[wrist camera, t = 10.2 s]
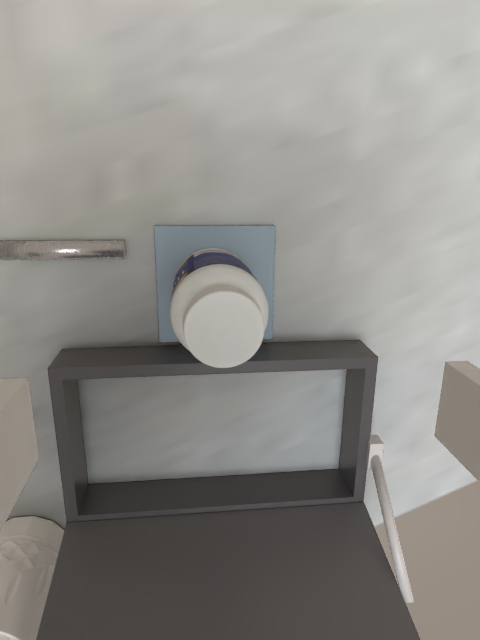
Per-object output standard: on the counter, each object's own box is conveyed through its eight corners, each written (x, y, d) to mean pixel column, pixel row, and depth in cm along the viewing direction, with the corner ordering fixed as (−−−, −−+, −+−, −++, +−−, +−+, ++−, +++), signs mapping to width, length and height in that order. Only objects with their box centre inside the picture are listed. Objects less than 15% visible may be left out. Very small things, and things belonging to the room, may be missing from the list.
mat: (160, 339, 33) (159, 342, 32) (154, 225, 30) (154, 226, 30) (270, 336, 33) (272, 339, 33) (273, 225, 31) (275, 226, 31)
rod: (1, 258, 30) (-7, 261, 29) (-2, 240, 29) (-10, 242, 28) (126, 257, 31) (123, 260, 30) (124, 239, 30) (122, 241, 29)
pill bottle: (170, 248, 30) (163, 278, 21) (250, 245, 31) (279, 273, 21) (175, 325, 32) (171, 385, 23) (252, 321, 32) (278, 378, 23)
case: (81, 521, 36) (17, 726, 23) (62, 348, 32) (-32, 473, 18) (355, 502, 39) (446, 677, 25) (371, 339, 34) (491, 443, 21)
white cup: (95, 572, 38) (64, 703, 28) (2, 599, 38) (-61, 741, 28) (60, 496, 35) (13, 612, 26) (-39, 525, 35) (-123, 652, 26)
